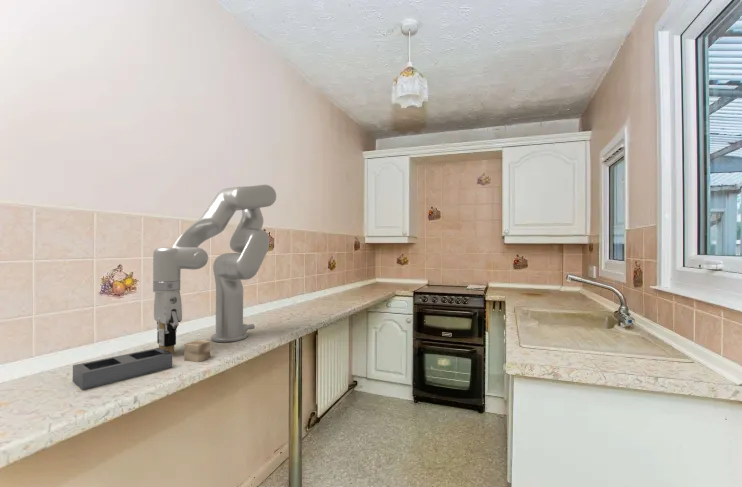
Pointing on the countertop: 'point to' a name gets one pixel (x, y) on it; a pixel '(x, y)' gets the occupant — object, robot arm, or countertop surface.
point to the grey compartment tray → (120, 367)
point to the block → (197, 351)
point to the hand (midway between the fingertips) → (166, 343)
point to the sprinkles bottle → (161, 337)
